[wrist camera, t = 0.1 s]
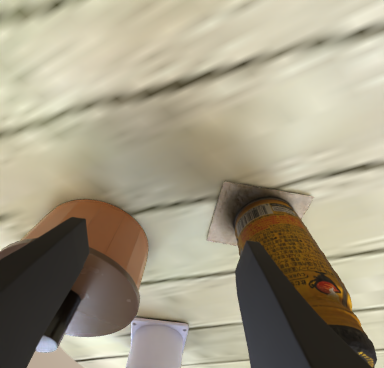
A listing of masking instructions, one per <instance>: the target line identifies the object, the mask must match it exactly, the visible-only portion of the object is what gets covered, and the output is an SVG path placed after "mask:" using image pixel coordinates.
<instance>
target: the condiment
mask: <svg viewBox="0 0 384 368" xmlns="http://www.w3.org/2000/svg"><path fill="white" fill-rule="evenodd" d="M313 198H314V197H312V196H306V195H301V194H296V193H290V192H286V191H278V190H274V189H268V188H259V187H255V186H249V185H244V184H235V183H231V182H225V181H224V183H223V186H222V189H221V192H220V195H219V199H218V202H217V205H216V209H215V212H214V216H213V219H212V223H211V226H210V229H209V233H208V237H207V241H212V242H219V243H223V244H231V245H235V246H236V245H238V248H239V255H240V257H241V254H242V251H243V248H244V245H245V243H246V240H247V241H255V242H260V243H261V245H262V246H263V247H264V249H265V250H266V251H267V253H268V254H269V255H270V257H271V258H272V259H273V261H274V262H275V263H276V264H277V266H278V267H279V268H280V270H281V271H282V272H283V274H284V275H285V276H286V277H287V279H288V280H289V281H290V282H291V284H292V285H293V286H294V287H295V288H296V290H297V291H298V292H299V293H300V294H301V296H302V297H303V298H304V299H305V300H306V301H307V302H308V304H309V305H310V306H311V307H312V308H313V309H314V310H315V311H316V313H317V314H318V315H319V316H320V317H321V318H322V319H323V320H324V321H325V322H326V323H327V324H328V325H329V326H330V327H331V328H332V329H333V330H334V331H335V332H336V333H337V334H338V335H339V336H340V337H341V338H342V339H343V340H344V341H345V342H346V343H347V344H348V345H349V346H350V347H351V348H352V349H353V350H354V351H355V352H356V353H357V354H358V355H359V356H361V357H362V358H363V359H364V360H365V361H366V362H367V363H368V364H369V365H370V366H371V367H372V368H374V366H375V364H376V361H377V358H376V352H375V349H374V346H373V343H372V342H371V340H370V339H368V336H367V335H366V333H365V332H364V331H363V329H362V327H361V323H360V321H359V319H358V318H357V316H356V315H355V314H354V313H353V312H352V303H351V298H350V295H349V293H348V291H347V290H346V288H345V286H344V284H343V283H342V282H341V279H340V278H339V276H338V274H337V273H336V272H335V271H334V270H333V268H332V267H331V265H330V263H329V262H328V260H327V259H326V257H325V255H324V253H323V252H322V251H321V250H320V248H319V247H318V245H317V243H316V242H315V240H314V239H313V238H312V236H311V234H310V233H309V231H308V230H307V228H306V226H305V225H304V224H303V222H302V220H301V219H302V217H303V215H304V214H305V212H306V211H307V209H308V207H309V205H310V204H311V202H312V200H313Z"/></svg>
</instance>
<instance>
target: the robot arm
mask: <svg viewBox="0 0 384 368" xmlns="http://www.w3.org/2000/svg"><path fill="white" fill-rule="evenodd" d="M88 255H89V244H88V235H87V226H86V219H84V218H77V217H71V218H69V219H67V220H65V221H64V222H62V223H61V224H59V225H57V226H56V227H54V228H53V229H51V230H49V231H48V232H46V233H45V234H43V235H41V236H40V237H38V238H36V239H35V240H33V241H32V242H30V243H28V244H27V245H25V246H23V247H22V248H20V249H18V250H17V251H15V252H13V253H11V254H9V255H8V256H6V257H4V258H2V259H1V260H0V368H27V366H28V364H29V362H30V360H31V358H32V356H33V354H34V352H35V350H36V348H37V346H38V344H39V342H40V340H41V338H42V336H43V335H44V333H45V331H46V329H47V327H48V326H49V324H50V322H51V321H52V319H53V318H54V316H55V314H56V313H57V311H58V309H59V308H60V306H61V304H62V303H63V301H64V299H65V298H66V296H67V295H68V293H69V291H70V290H71V288H72V286H73V285H74V283H75V281H76V280H77V278H78V276H79V274H80V272H81V270H82V268H83V266H84V264H85V262H86V259H87V257H88ZM235 273H236V287H237V296H238V301H239V306H240V311H241V316H242V321H243V326H244V331H245V336H246V341H247V346H248V352H249V358H250V364H251V368H372V367H371V366H370V365H369V364H368V363H367V362H366V361H365V360H364V359H363V358H362V357H361V356H359V355H358V354H357V353H356V352H355V351H354V350H353V349H352V348H351V347H350V346H349V345H348V344H347V343H346V342H345V341H344V340H343V339H342V338H341V337H340V336H339V335H338V334H337V333H336V332H335V331H334V330H333V329H332V328H331V327H330V326H329V325H328V324H327V323H326V322H325V321H324V320H323V319H322V318H321V317H320V316H319V315H318V314H317V313H316V311H315V310H314V309H313V308H312V307H311V306H310V305H309V304H308V302H307V301H306V300H305V299H304V298H303V297H302V296H301V294H300V293H299V292H298V291H297V290H296V288H295V287H294V286H293V285H292V284H291V282H290V281H289V280H288V279H287V277H286V276H285V275H284V274H283V272H282V271H281V270H280V268H279V267H278V266H277V264H276V263H275V262H274V261H273V259H272V258H271V257H270V255H269V254H268V253H267V251H266V250H265V249H264V247H263V246H262V245H261V243H260V242H255V241H247V240H246V243H245V245H244V248H243V251H242V254H241V257H240V259H239V262H238V265H237V268H236V271H235ZM188 329H189V325H188V324H186V323H178V322H170V321H161V320H152V319H144V318H134V319H133V321H132V322H131V349H130V353H129V357H128V361H127V365H126V368H181V363H182V353H183V349H184V345H185V341H186V337H187V333H188Z"/></svg>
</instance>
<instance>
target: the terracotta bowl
mask: <svg viewBox="0 0 384 368" xmlns="http://www.w3.org/2000/svg"><path fill="white" fill-rule="evenodd" d="M71 217H77V218H84V219H86V226H87V235H88V244H89V247H91V248H93V249H95V250H97V251H99V252H101V253H103V254H105V255H106V256H108V257H110V258H111V259H113V260H114V261H115V262H117V263H118V264H119V265H120V266H122V267H123V268H124V269H125V270H126V271H127V272H128V274H129V275H130V276H131V277H132V279H133V280H134V282H135V284H136V286H137V288H138V291H139V287H140V283H141V280H142V276H143V272H144V269H145V265H146V261H147V255H148V240H147V237H146V235H145V233H144V231H143V229H142V228H141V226H140V225H139V224H138V222H137V221H136V220H135V219H134V218H132V217H131V216H130V215H129V214H127V213H126V212H125V211H123V210H121V209H119V208H117V207H116V206H113V205H111V204H108V203H105V202H101V201H96V200H87V199H83V200H73V201H69V202H65V203H63V204H61V205H59V206H57V207H56V208H55V209H53V210H52V211H51V212H50V213H49V214H47V215H46V216H45V217H44V218H43V219H42V220H41V221H40V222H39V223H38V224H37V225H36V226H35V227H34V228H33V229H32V230H31V231H29V232H28V233H27V234H26V235H25V236H24V237H23V238H22V239H21V240H25V239H32V238H38V237H40V236H41V235H43V234H45V233H46V232H48V231H49V230H51V229H53V228H54V227H56V226H57V225H59V224H61V223H62V222H64V221H65V220H67V219H69V218H71ZM21 240H20V241H21Z"/></svg>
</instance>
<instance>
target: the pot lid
mask: <svg viewBox="0 0 384 368" xmlns="http://www.w3.org/2000/svg"><path fill="white" fill-rule="evenodd" d="M35 239H36V238H32V239H25V240H21V241H17V242H15V243H12V244H10V245H8V246H7V247H5V248H3V249H2V250H1V251H0V260H1V259H2V258H4V257H6V256H8V255H9V254H11V253H13V252H15V251H17V250H18V249H20V248H22V247H23V246H25V245H27V244H28V243H30V242H32V241H33V240H35ZM139 303H140V295H139V291H138V288H137V286H136V284H135V282H134V280H133V279H132V277H131V276H130V275H129V274H128V272H127V271H126V270H125V269H124V268H123V267H122V266H120V265H119V264H118V263H117V262H115V261H114V260H113V259H111V258H110V257H108V256H106V255H105V254H103V253H101V252H99V251H97V250H95V249H93V248H91V247H89V255H88V257H87V259H86V262H85V264H84V266H83V268H82V270H81V272H80V274H79V276H78V278H77V280H76V281H75V283H74V285H73V286H72V288H71V290H70V291H69V293H68V295H67V296H66V298H65V299H64V301H63V303H62V304H61V306H60V308H59V309H58V311H57V313H56V314H55V316H54V318H53V319H52V321H51V322H50V324H49V326H48V327H47V329H46V331H45V333H44V335H43V336H42V338H41V340H40V342H39V344H38V346H37V348H36V350H35V351H37V352H45V353H47V352H53V351H55V350H56V349H57V348H58V346H59V344H60V342H61V340H62V338H63V336H64V335H70V336H79V337H94V336H103V335H108V334H112V333H114V332H117V331H119V330H121V329H123V328H125V327H126V326H128V325H129V324H130V323H131V322H132V321H133V319H134V318H135V316H136V314H137V312H138V308H139Z"/></svg>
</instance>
